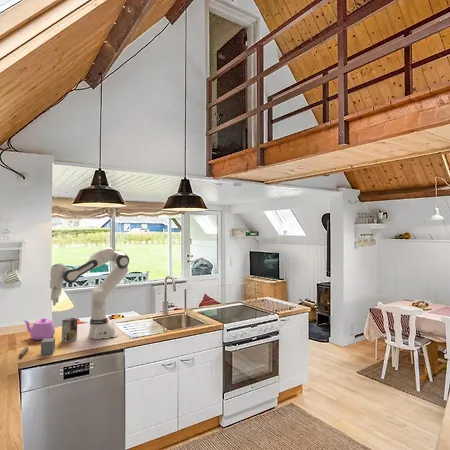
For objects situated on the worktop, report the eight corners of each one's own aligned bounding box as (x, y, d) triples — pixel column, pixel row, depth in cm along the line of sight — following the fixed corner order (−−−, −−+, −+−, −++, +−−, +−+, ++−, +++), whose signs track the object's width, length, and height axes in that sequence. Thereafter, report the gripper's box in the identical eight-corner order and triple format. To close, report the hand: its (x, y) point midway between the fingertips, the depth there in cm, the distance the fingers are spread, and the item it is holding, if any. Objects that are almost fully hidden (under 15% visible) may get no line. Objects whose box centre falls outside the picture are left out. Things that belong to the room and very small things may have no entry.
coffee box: (71, 338, 271) (72, 317, 272) (77, 339, 268) (77, 318, 268) (61, 341, 263) (62, 319, 264) (66, 342, 260) (67, 321, 260)
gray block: (54, 350, 244) (55, 338, 244) (52, 354, 236) (53, 341, 237) (43, 351, 241) (43, 338, 242) (40, 355, 234) (41, 342, 234)
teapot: (57, 332, 284) (58, 314, 284) (51, 340, 263) (52, 321, 263) (27, 333, 278) (27, 314, 278) (18, 342, 258) (19, 321, 258)
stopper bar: (28, 350, 242) (28, 346, 242) (22, 357, 228) (22, 354, 228) (24, 350, 241) (25, 347, 241) (19, 358, 228) (19, 354, 228)
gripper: (58, 287, 250) (57, 306, 250) (63, 283, 270) (62, 301, 270) (48, 287, 249) (48, 307, 249) (54, 283, 268) (53, 301, 268)
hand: (55, 303), depth 259 cm, fingers open, 8 cm apart
